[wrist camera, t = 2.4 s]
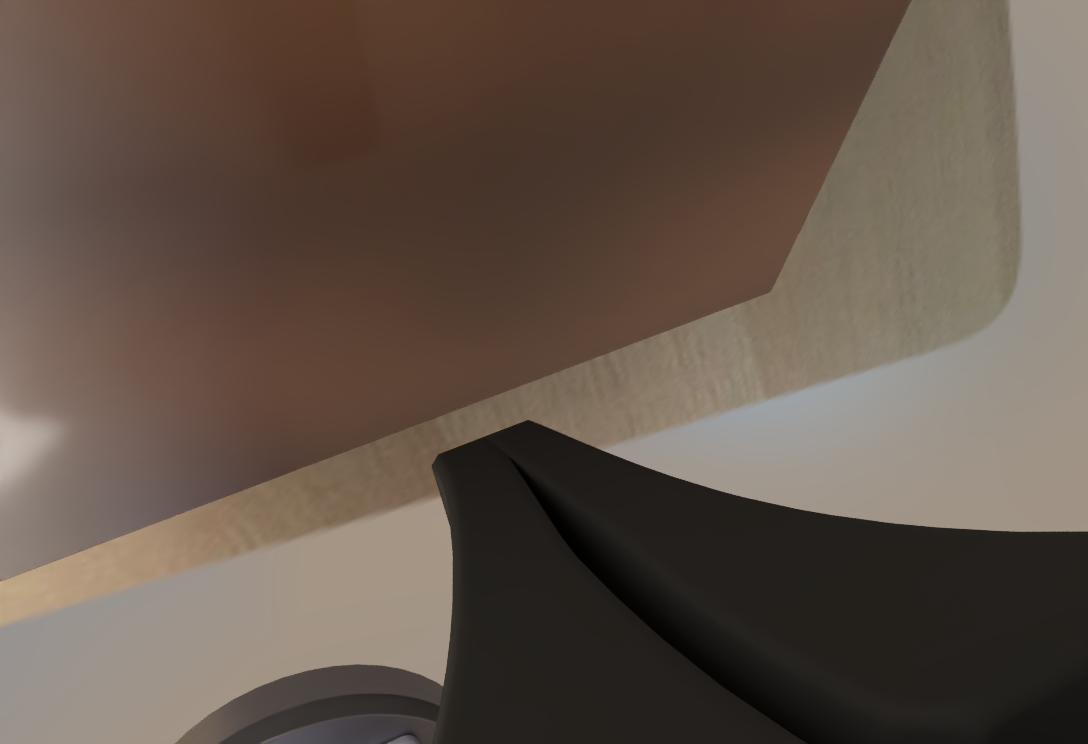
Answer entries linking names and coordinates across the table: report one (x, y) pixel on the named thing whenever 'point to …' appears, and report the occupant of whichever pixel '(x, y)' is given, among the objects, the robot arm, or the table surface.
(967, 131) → the table surface
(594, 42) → the lid
